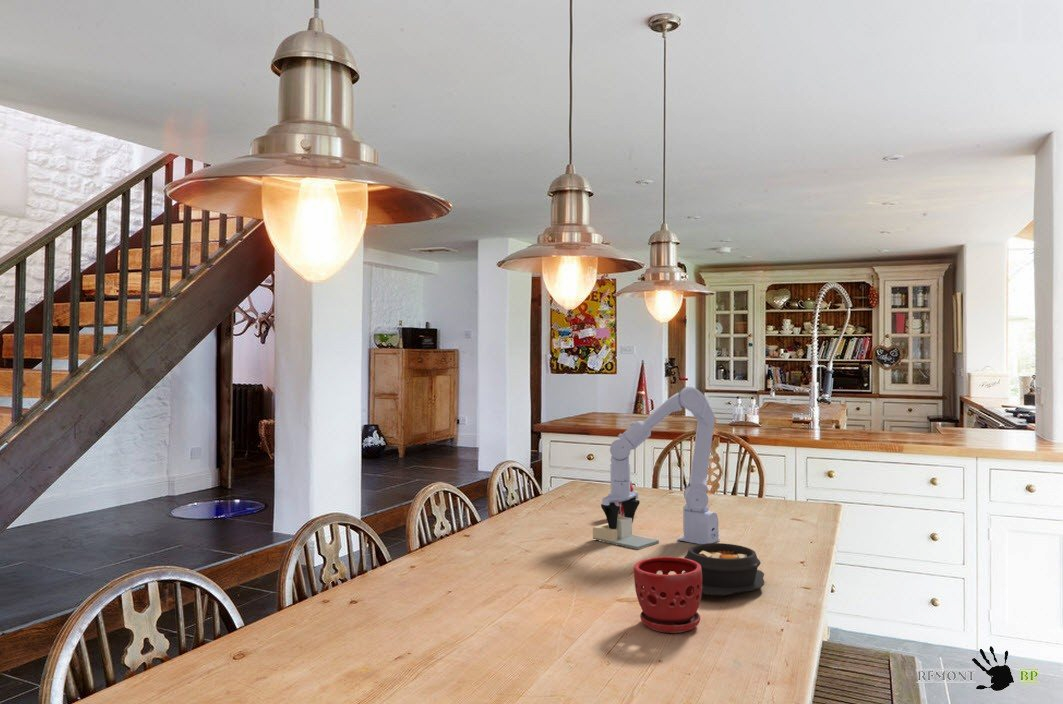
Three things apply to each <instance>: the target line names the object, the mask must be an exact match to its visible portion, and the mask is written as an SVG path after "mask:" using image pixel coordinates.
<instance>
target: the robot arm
mask: <svg viewBox="0 0 1063 704" xmlns="http://www.w3.org/2000/svg"><path fill="white" fill-rule="evenodd" d="M682 407H683V408H685V409H686V410H687V411H689V412H690V413H691V414H692V416H693V417H694V418H695V419H696V420H697V425H696V431H695V432H696V433H695V439H694V447H693V454H692V462H691V468H690V474H689V478H688V484H687V485H686V486H685V489H684V490H683V496H684V499H685V503H686V504H685V505H684V506H683V511H682V512H683V517H682V519H683V536H680V537H677V541H682V542H687V543H691V544H695V545H699V544H707V543H718V542H719V541H721V540H720V537H719V516H718V515H717V513H716V512H713V511H711V510H710V507H709V506H708V503H709V496H708V493H707V487H708V479H707V478H708V473H709V472H708V470H709V465H710V458H711V457H710V456H711V451H712V441H713V436H714V428H715V427H714V426H715V421H716V417H715V414H714V412H713V410H712V407H711V406H710V403H709V402H708V399H707V398H706V396H705V395H704V394H703V393H702V392H701V391H700V389H699V390H698V389H697V388H695V387H693V386H685V387H684V388H682V389H681V390H680V391H679V392H676V393H674V394H673V395H672V396H670V397H669V398H667V399H666V400H665V401H664V402H663V403H662V404H661V405H660V406H658V407H657V408H656V409H655V410H654V411H653V412H652V413H651V414H650V415H649V416H648V417H647V418H645V420H636V421H635V422H634V421H632V422H631V423H630V426H629V428H627V429H626V430H625V431H624V432H623V433H619V434H618V435H617V436H618V438H616V439H614V440H613V441H612V442H611V444H610V448H609V452H610V455H611V456H610V462H611V463H610V493H608V495H607V496H604V497H602V498H601V499H602V501H601V502H602V503H601V509H602V511H603V512H604V515H605V517H606V522H607V523H608V525H609V528H610V529H616V527H617V517H618V512H619V509H620V506H616V504H615V503H618V502H622V505H623V509H624V517H628V518H632V524H633V522H634V519H635V514H636V511H637V510H638V508H639V505H640V504H641V503H640V499H639V492H637V491H634V492H630V481H631V464H630V454H631V451H632V450H636V449H637V448H638V447H639V446H640V445H642V444H643V443H644V442H645V441H646V440H647V439H648V438H650V437H651V435H652V434H651V433H652V429H653V428H654V427H656V426H657V425H658V424H659V423H660V422H662V421H663V420H664V419H665V418H667V417H668V416H669V415H670V414H672V413H674V412H681V411H683V409H682Z"/></svg>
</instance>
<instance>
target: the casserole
mask: <svg viewBox="0 0 1063 704" xmlns="http://www.w3.org/2000/svg"><path fill="white" fill-rule="evenodd" d="M683 558H686V559H690V560H693V561H696V562H697V563H699V564H700V565H701V569H702V594H701V595H705V596H706V595H707V596H716V597H717V596H718V597H722V596H724V597H725V596H728V595H737V594H742V593H746V592H751V591H755V590H757V589H760V588H762V587H763V586H764V585H765V580H764V577H765V573H764V571H762V570H760V569H758V568H759V566H760V565H761V560H760V559H759V558H758V556H757V553H756V551H755V550H753V549H752V548H749V547H747V546H742V545H739V544H738V545H737V544H732V543H719V542H714V543H707V544H695V545H692V546H690V547H689V548H688V550H687V553H686V554H685V555H684V557H683ZM684 573H686V572H685V571H683V572H682V574H684Z"/></svg>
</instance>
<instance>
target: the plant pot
mask: <svg viewBox="0 0 1063 704" xmlns="http://www.w3.org/2000/svg"><path fill="white" fill-rule="evenodd" d="M659 571H660V572H662V573H661V574H660V573H658V572H659ZM670 572H674V573H675V574H669V573H670ZM684 572H686V573H684ZM683 573H684V574H683ZM633 580H634V589H635V595H636V598H637V602H638V603H639V606H640V608H641V612H640V614H639V615H640V616H639V617H640V620H641V622H642V624H643V625H645V626H646V627H647V628H648V629H651V630H653V631H656V632H661V633H669V634H672V633H674V634H676V633H677V634H679V633H684V632H689V631H692V630H694V629H695V628H696V627H697V626H698V625H699V623H700V621H701V615H700V613H699V612H698V609H699V606H700V604H701V600H702V595H703V594H702V569H701V565H700V564H699V563H697V562H696V561H693V560H690V559H686V558H684V557H679V556H655V557H650V558H645V559H641V560H639V561H637V562H636V563H635V564H634V565H633Z"/></svg>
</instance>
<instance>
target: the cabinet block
mask: <svg viewBox="0 0 1063 704" xmlns="http://www.w3.org/2000/svg"><path fill="white" fill-rule="evenodd" d="M608 528H609V525H608ZM609 529H610V528H609ZM614 530H617V537H618V538H625V537H628V536H632V535H633V523H632V518H628V517H623V516H618V517H617V527H616V529H614Z"/></svg>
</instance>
